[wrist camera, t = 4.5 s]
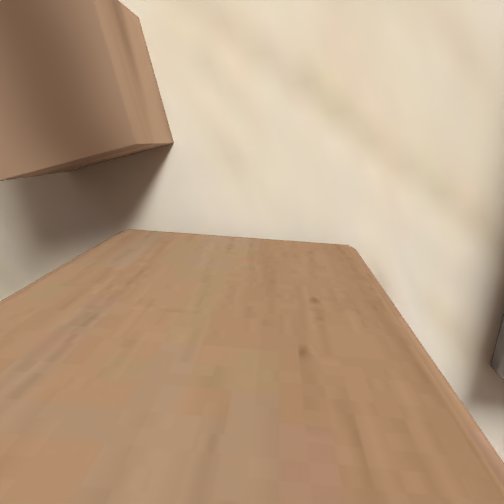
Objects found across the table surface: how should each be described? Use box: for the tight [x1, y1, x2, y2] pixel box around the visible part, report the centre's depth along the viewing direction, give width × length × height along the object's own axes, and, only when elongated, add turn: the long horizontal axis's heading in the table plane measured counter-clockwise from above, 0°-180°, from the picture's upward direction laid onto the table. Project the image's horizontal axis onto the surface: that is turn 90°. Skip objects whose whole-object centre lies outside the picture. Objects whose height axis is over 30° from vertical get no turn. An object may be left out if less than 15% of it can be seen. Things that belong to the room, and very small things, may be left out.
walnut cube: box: [0, 0, 174, 181], centre depth 16 cm, size 5×5×5 cm
